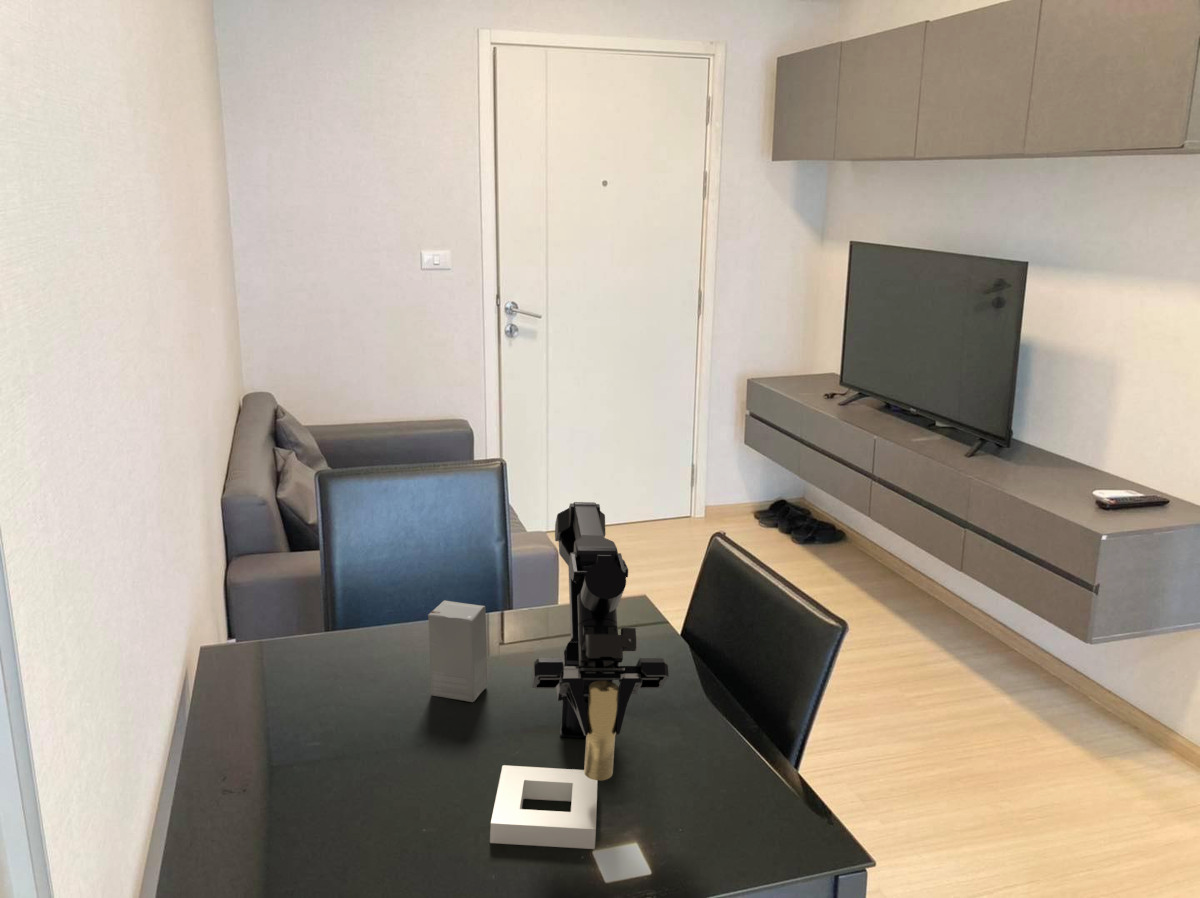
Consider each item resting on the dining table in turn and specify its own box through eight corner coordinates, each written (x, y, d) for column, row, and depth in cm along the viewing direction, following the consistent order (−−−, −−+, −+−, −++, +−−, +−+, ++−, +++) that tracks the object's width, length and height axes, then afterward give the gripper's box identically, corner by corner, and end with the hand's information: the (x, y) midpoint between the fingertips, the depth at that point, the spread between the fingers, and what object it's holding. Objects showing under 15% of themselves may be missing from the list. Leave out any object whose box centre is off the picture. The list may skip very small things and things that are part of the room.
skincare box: (487, 687, 172) (490, 604, 168) (471, 706, 165) (473, 619, 161) (443, 679, 174) (445, 596, 170) (426, 697, 167) (427, 611, 164)
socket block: (490, 842, 130) (490, 823, 129) (501, 783, 143) (502, 765, 143) (594, 849, 130) (595, 829, 129) (596, 789, 143) (597, 770, 143)
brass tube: (584, 779, 134) (589, 694, 130) (583, 763, 137) (588, 680, 134) (613, 781, 134) (619, 695, 131) (612, 764, 138) (617, 681, 134)
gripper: (536, 604, 133) (537, 719, 125) (671, 605, 135) (680, 718, 127) (532, 633, 142) (532, 741, 134) (657, 633, 144) (665, 740, 136)
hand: (602, 734), depth 133 cm, fingers closed on brass tube, 4 cm apart
